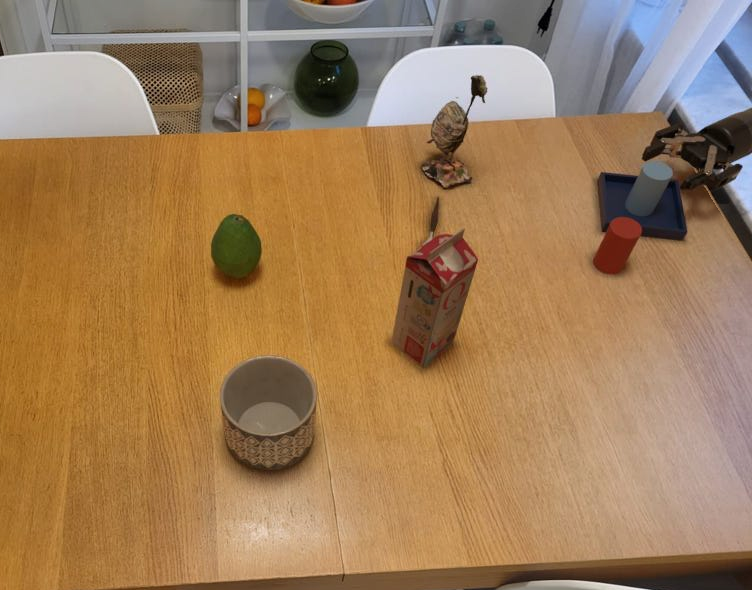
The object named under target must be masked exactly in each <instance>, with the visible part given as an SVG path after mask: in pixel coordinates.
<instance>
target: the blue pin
mask: <svg viewBox="0 0 752 590" xmlns="http://www.w3.org/2000/svg"><path fill="white" fill-rule="evenodd" d="M673 175H674V171H673V169H672V167H671V166H669V164H667V163H665V162H662V161H658V160H648V161H646V162H645V163H644V164H643V165H642V167H641V169H640V172H639V173H638V175H637V176H638V177H637V180H636V182H635V184H634V186H633V188H632V190H631V192H630V194H629V196H628V198H627V200H626V202H625V207H626V209H627V210H628V211H629V212H630V213H632V214H634V215H636V216H642V217H644V216H649V215H651V214H652V213H653V211H654V209H655V207H656V206H657V204H658V202H659V200H660V198H661V196H662V194H663V192H664V191H665V189H666V187H667V185H668V183H669V181H670V179H672V177H673Z"/></svg>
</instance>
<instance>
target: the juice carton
mask: <svg viewBox="0 0 752 590" xmlns="http://www.w3.org/2000/svg"><path fill="white" fill-rule="evenodd" d="M465 230H466V228H465V227H463V228H462V229H460V230H459V231H458V232H456V233H455V234H451V233H445V232H440V233H439V234H437V235H436V236H434V237H433V239H432V240H430V241H429V242H427V243H426V244H425V245H423V244H422V245H423V246H422V245H421V246H422V247H421V246H420V247H419V248H417V249H416V250H414V251H413V252H412V253H410V254H409V255H408V256H406V260H405V264H404V271H403V276H402V280H401V281H402V282H401V287H400V292H399V298H398V303H397V308H396V313H395V318H394V326H393V330H392V336H391V342H390V343H391V344H393V346H395V347H396V348H397V349H399V350H400V351H401V352H402V353H404V354H405V355H406V356H407V357H409V358H410V359H411V360H412V361H413V362H414V363H416V364H417V365H418V366H419V367H421V368H422V369H424V368H426V367H427V366H428V365H430V364H431V363H433V361H435V360H436V359H437V358H438V357H440V356H441V355H442V354H443V353H444V352H446V351H447V350H448V349H450V348H451V347H452V346H453V345H454V342H455V339H456V336H457V332H458V329H459V326H460V323H461V320H462V319H461V318H462V316H463V313H464V310H465V309H464V308H465V306H466V302H467V298H468V295H469V292H470V288H471V286H472V282H473V279H474V275H475V272H476V268H477V265H478V261H479V259H478V256H477V255H476V253H475V252H474V251H473V249H472V248H471V246H470V245H469V244H468V242H467V241H466V240H465V238H464V237H463V236H464V233H465Z"/></svg>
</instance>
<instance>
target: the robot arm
mask: <svg viewBox="0 0 752 590" xmlns="http://www.w3.org/2000/svg"><path fill="white" fill-rule="evenodd" d="M684 128H685V124H684V123H682V122H678V123H675V124H672V125H670V126H667V127H664V128H662V129H659V130H657V131H655V133H654V136H653V137H652V140H651V141H650V144H649V145H648V146H646V147H645V148H644V150H643V152H642V154H641V156H642V157H641V160H642V161H643V162H645V163H647V162H649V161H651V160H652V159H654V158H656V157H659V156H660V155H668V156H669V157H670V158H677V159H681V160H682V161H684V162H686V163H688V164H689V165H690V166H691V167H693V168H694V169H698V172H696V173H694V174H692V175H690V176H687V177H685V179H683V181H682V183H681V185H680V186H679V187H680V190H682V191H686V190H687V191H692V190H695V189H696V188H698V187H704V186H708V188H709V189H708V190H710V191H712V192H716V191H717V190H719V189H721V188H723V187H725V186H726V185H728V184H730V183H731V182H733V181H735V180H736V179H737V177H738V176H739V175H740V173H741V171H742V169H743V168H744V167H743V164H742V163H735V162H737V161H739V160H741V159H743V158H745V157H748V156H750V155H751V154H752V106H751V107H749V108H747V109H745V110H742V111H739V112H735V113H733V114H730V115H728V116H726V117H724V118H721V119H719V120H717V121H715V122H712V123H711V124H708V125H706V126H705V127H703V128H702V129H700V130H698V131H697V132H692V133H691V132H690V133H688V132H687V131H686V130H684ZM667 146H670V147H667ZM680 146H681V147H680ZM679 147H680V150H678V149H679ZM733 163H735V164H733ZM719 170H722V171H720V172H719V173H717V174H713V171H719Z"/></svg>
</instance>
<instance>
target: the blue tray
mask: <svg viewBox="0 0 752 590" xmlns="http://www.w3.org/2000/svg"><path fill="white" fill-rule="evenodd" d="M637 177H638V175H635V174H625V173H617V172H615V173H614V172H606V171H605V172H604V171H600V173H599V176H598V177H597V179H596V181H597V193H598V204H599V215H600V226H601V232H603V233H606V231H607V229H608V227H609V225H610V223H611V221H612V220H613V219H615V218H618V217H627V218H631V219H633V220H635V221H636V222H638V223H639V224H640V226H641V228H642V233H641V235H640V237H648V238H657V239H662V240H663V239H665V240H673V241H683V240H684V239H685V237H686V235H687V234H688V227H687V222H686V221H687V219H686V216H685V210H684V203H683V199H682V193H681V189H680V187H681V186H680V182H679V179H674V178H673V179H672V178H671V179H670V181H669V183H668V185H667V187H666V189H665V191H664V192H663V194H662V196H661V198H660V200H659V202H658V204H657V206H656V207H655V209H654V211H653V213H652V214H651V215H649V216H644V217H642V216H636V215H634V214H632V213H630V212H629V211H628V210H627V209H626V207H625V202H626V200H627V198H628V196H629V194H630V192H631V190H632V188H633V186H634V184H635V182H636V180H637Z"/></svg>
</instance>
